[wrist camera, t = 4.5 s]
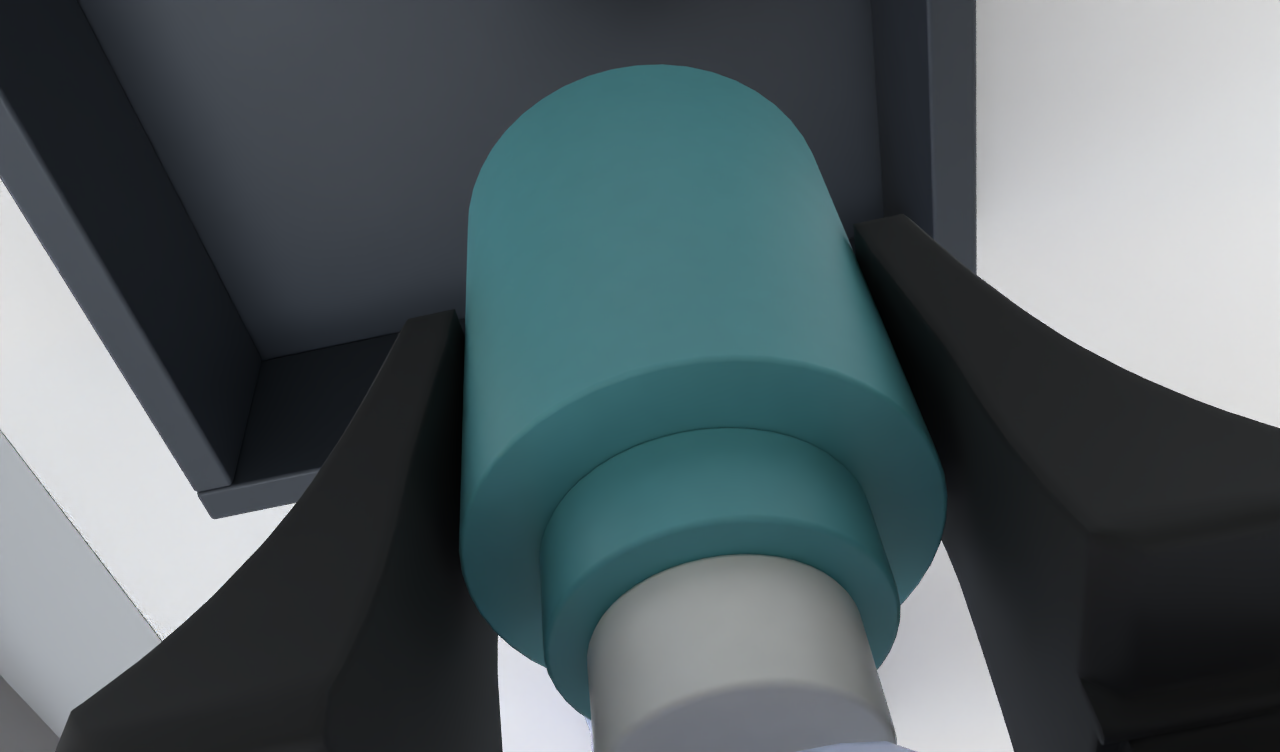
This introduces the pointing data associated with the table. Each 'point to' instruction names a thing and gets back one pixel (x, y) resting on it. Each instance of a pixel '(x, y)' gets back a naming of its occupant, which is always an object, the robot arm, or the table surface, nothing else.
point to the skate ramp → (54, 615)
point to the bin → (390, 173)
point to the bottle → (685, 423)
